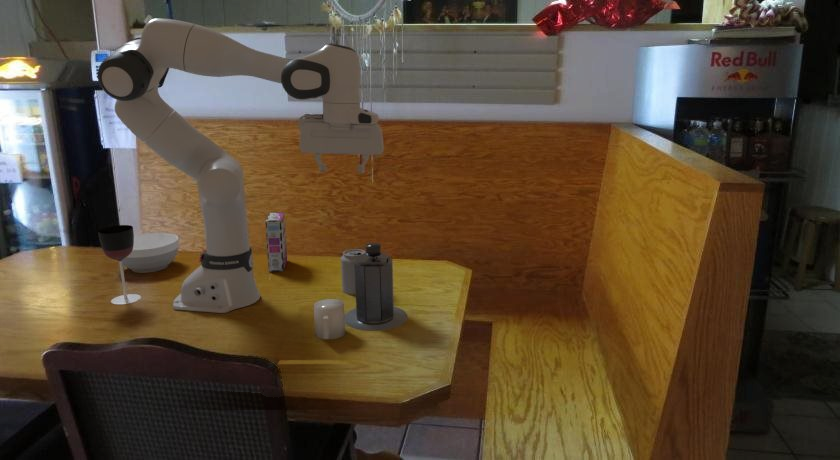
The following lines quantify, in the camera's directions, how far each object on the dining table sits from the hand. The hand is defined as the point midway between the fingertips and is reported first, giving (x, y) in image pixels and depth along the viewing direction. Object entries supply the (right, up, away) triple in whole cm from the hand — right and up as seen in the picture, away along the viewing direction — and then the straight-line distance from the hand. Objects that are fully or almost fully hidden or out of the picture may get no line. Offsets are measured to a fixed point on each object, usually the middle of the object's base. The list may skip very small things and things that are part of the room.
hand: (341, 172), depth 151 cm
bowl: (-67, -26, +45) cm, 85 cm away
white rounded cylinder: (-2, -40, -6) cm, 40 cm away
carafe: (+8, -36, +5) cm, 37 cm away
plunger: (+8, -30, +2) cm, 31 cm away
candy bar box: (-26, -26, +45) cm, 58 cm away
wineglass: (-62, -33, +19) cm, 73 cm away
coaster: (+8, -37, +4) cm, 38 cm away
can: (+1, -32, +22) cm, 39 cm away
